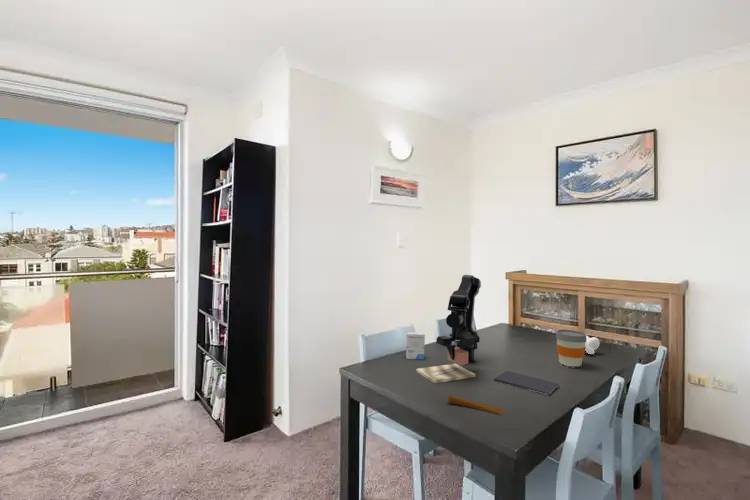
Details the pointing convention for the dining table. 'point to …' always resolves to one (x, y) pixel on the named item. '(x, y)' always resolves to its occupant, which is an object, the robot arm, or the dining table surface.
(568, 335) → the reusable coffee cup
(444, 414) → the dining table surface
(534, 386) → the notebook
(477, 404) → the primitive tool
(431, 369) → the board
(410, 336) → the ink box
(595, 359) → the dining table surface
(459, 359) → the block
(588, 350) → the white rounded figurine
